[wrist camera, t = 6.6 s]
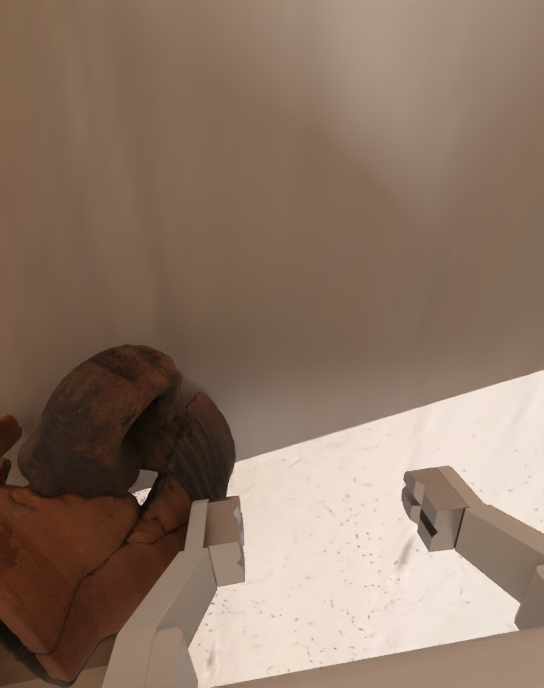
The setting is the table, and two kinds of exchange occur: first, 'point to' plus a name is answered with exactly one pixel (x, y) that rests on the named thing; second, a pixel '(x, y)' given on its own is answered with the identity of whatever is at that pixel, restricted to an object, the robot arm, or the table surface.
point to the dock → (20, 684)
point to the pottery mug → (100, 504)
